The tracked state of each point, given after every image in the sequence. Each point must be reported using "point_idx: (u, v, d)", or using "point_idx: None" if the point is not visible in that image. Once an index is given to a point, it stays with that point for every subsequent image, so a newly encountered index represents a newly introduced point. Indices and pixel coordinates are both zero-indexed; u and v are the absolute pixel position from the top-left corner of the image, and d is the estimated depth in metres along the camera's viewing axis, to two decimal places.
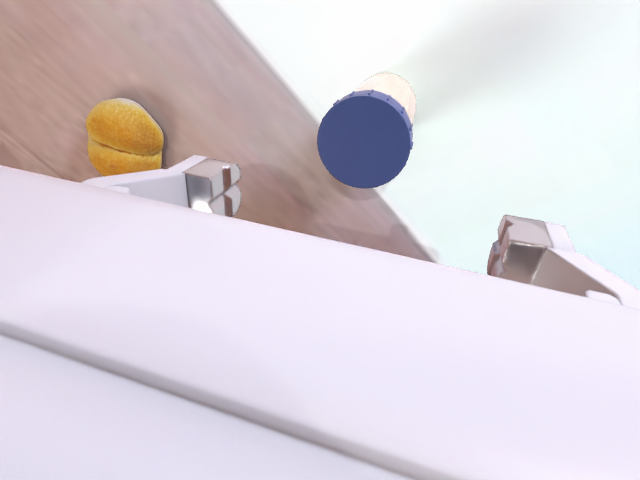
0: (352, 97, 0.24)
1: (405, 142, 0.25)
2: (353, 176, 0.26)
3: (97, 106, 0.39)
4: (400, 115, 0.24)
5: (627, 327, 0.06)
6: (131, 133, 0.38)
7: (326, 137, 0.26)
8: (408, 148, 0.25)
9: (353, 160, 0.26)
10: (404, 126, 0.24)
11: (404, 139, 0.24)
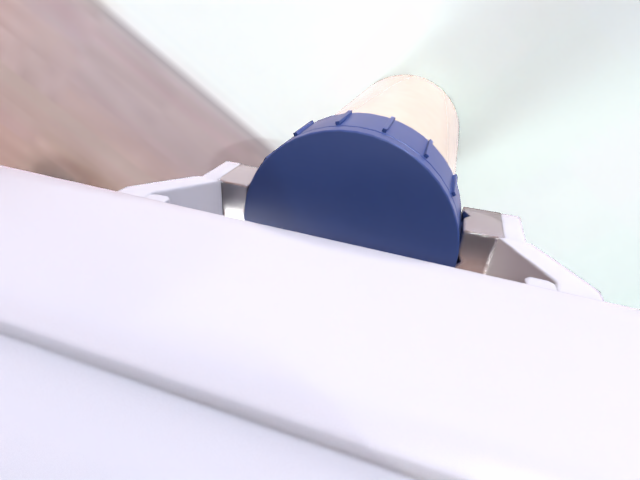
0: (297, 139, 0.10)
1: (444, 227, 0.10)
2: None
3: None
4: (421, 165, 0.09)
5: (626, 327, 0.06)
6: None
7: None
8: (454, 240, 0.10)
9: None
10: (436, 190, 0.09)
11: (441, 221, 0.10)
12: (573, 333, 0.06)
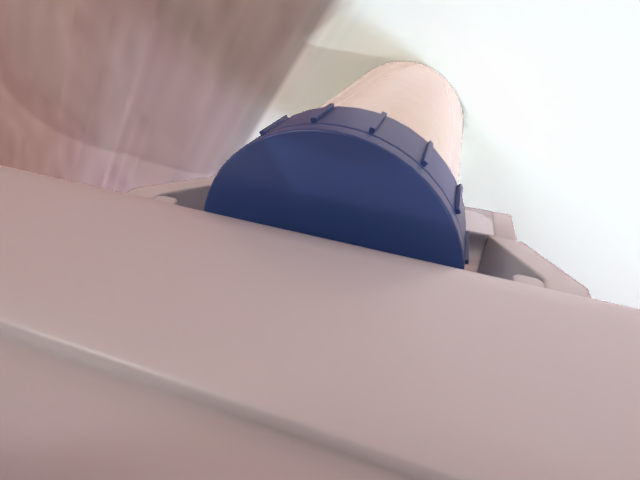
0: (262, 139, 0.08)
1: (446, 253, 0.08)
2: None
3: None
4: (418, 176, 0.07)
5: (627, 327, 0.06)
6: None
7: None
8: None
9: None
10: (436, 208, 0.07)
11: (441, 245, 0.08)
12: (573, 333, 0.06)
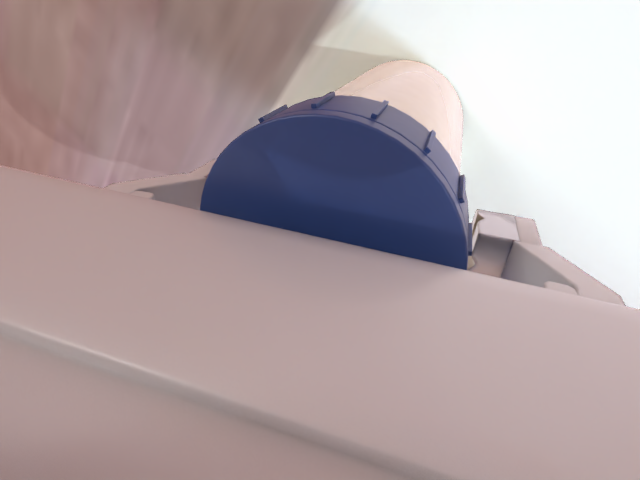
0: (261, 125, 0.08)
1: (449, 243, 0.08)
2: None
3: None
4: (421, 162, 0.07)
5: (626, 327, 0.06)
6: None
7: None
8: (461, 260, 0.08)
9: None
10: (439, 196, 0.07)
11: (445, 235, 0.07)
12: (573, 333, 0.06)
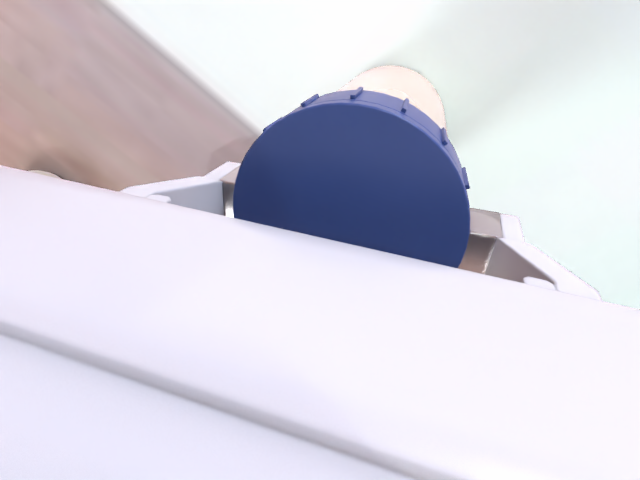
0: None
1: (325, 118, 0.09)
2: (432, 251, 0.10)
3: None
4: (260, 138, 0.09)
5: (626, 327, 0.06)
6: None
7: None
8: (341, 108, 0.09)
9: (386, 249, 0.10)
10: (284, 125, 0.09)
11: (318, 122, 0.09)
12: (573, 333, 0.06)
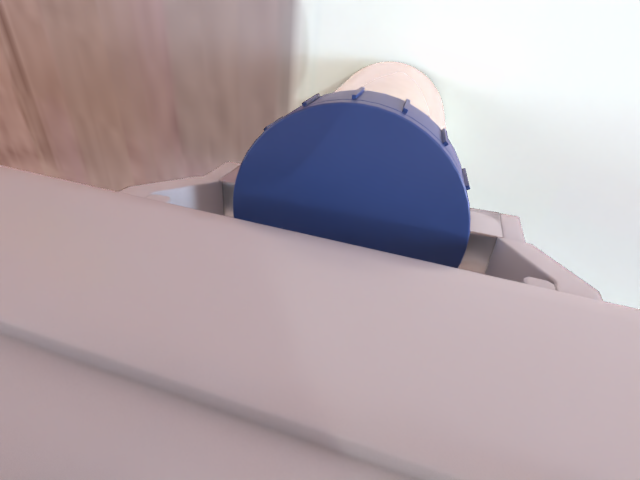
0: None
1: (327, 117, 0.09)
2: (432, 251, 0.10)
3: None
4: (261, 137, 0.09)
5: (626, 327, 0.06)
6: None
7: None
8: (343, 107, 0.09)
9: (386, 249, 0.10)
10: (285, 124, 0.09)
11: (319, 121, 0.09)
12: (573, 333, 0.06)
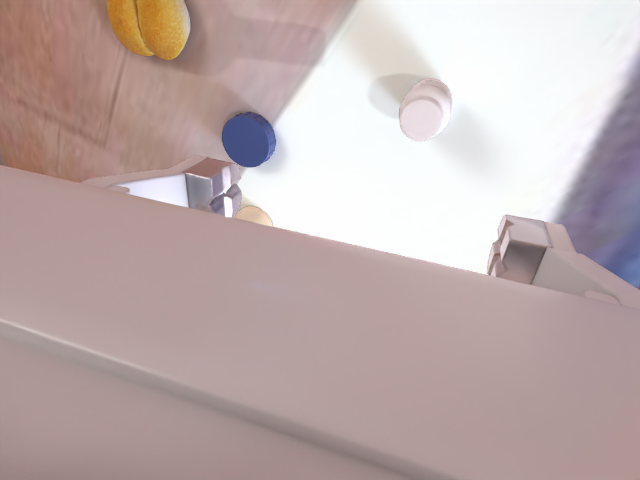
0: (224, 147, 0.47)
1: (239, 118, 0.45)
2: (263, 147, 0.45)
3: None
4: (227, 122, 0.45)
5: (626, 327, 0.06)
6: (159, 43, 0.42)
7: (245, 162, 0.47)
8: (241, 117, 0.44)
9: (254, 147, 0.46)
10: (231, 120, 0.45)
11: (237, 119, 0.45)
12: (573, 333, 0.06)
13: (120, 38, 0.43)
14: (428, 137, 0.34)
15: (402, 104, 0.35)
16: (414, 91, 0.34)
